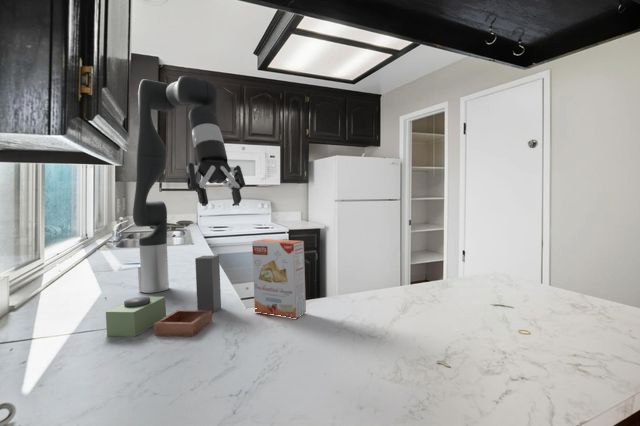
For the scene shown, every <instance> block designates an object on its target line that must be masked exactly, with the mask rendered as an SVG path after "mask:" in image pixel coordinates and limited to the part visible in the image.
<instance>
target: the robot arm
mask: <svg viewBox="0 0 640 426" xmlns="http://www.w3.org/2000/svg"><path fill="white" fill-rule="evenodd" d="M137 93H138V94H137V95H138V97H137V98H138V99H137V100H138V102H137V103H138V136H137V137H138V138H137V151H136V178H135V180H136V181H135V193H134V199H133V209H132V220H133V223H134V225H135V226H136V227H140V228H141V227H142V228H143V227H154V229H153V230H152V231H151V232H149V233H147V234H145V235H143V236H140V237H139V239H138V245H139V246H138V247H139V265H137V274H138V275H137V276H138V291H139V292H142V293H144V294H146V293H147V294H150V293H151V294H152V293H158V292H159V293H160V292H163V291H167V290H169V288H170V287H169V286H170V283H169V282H170V281H169V260H168V242H167V241H168V240H167V238H168V211H167V210H168V209H167V206H166V203H165V202H164V201H161V200H149V201H148V200H147V199H148V196H149V193H150V191H151V189H152V188H153V186H154V185H155V183H157V181H158V180H159V179H160V177H161V176H162V175H163V173H164V172H165V170H166V165H167V164H166V163H167V147H166V145H165V143H164V141H163V140H162V138H161V136H160V135H159V133H158V131H157V129H156V127H155V124H154V122H153V118H152V117H153V116H152V111H160V112H172V111H174V110H176V109H178V108H180V107H191V106H196V107H194V108H192V109H191V110H190V111H189V114H188V119H189V125H190V129H191V130H190V131H191V135H192V136H191V137H192V140H191V141H192V144H193V149H194V153H195V159H196V164H197V165H196V164H195V165H194V163H193V162H189V163H188V165H187V166H186V167H185V170H184V171H185V177H186V184H187V189H188V190H191V191H192V190H193V191H196V192H197V193H196V194H197V197H198V198H197V199H198V202H199V204H200V205H201V206H202V207H206V206H207V205H208V204H209V199H208V194H207V190H206V188H205V186H206V185H207V183H209V184H223V185H224V186H225V187H227V188H228V189H230V191H231V196H232V201H233V204H234V206H237V205H239V204H240V203H241V201H242V196H241V192H240V191H241V189H243V188H244V187H245V186H246V183H245V179H244V175H243V172H242V168H241V166H240V165H236V166H230V164H229V163H228V162H229V161H228V155H227V151H226V146H225V142H224V139H223V138H224V137H223V134H222V132H221V129H220V125H219V120H218V116H217V115H218V114H217V111H218V110H217V108H218V99H219V98H218V97H219V89H218V87H217V86H216V84H215V83H214V82H212V81H210V80H207V79H203V78H199V77H195V76H190V75H182V76H179V78H178V80H177V81H173V82H171V83H170V84H169V83H166V82H161V81H156V80H151V79H146V78H145V79H141V80H140V83H139V87H138V92H137ZM196 173H198V174H199V175H200V176H201V177H202V178H201V179H200V181H199V182H197V178H196Z"/></svg>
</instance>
